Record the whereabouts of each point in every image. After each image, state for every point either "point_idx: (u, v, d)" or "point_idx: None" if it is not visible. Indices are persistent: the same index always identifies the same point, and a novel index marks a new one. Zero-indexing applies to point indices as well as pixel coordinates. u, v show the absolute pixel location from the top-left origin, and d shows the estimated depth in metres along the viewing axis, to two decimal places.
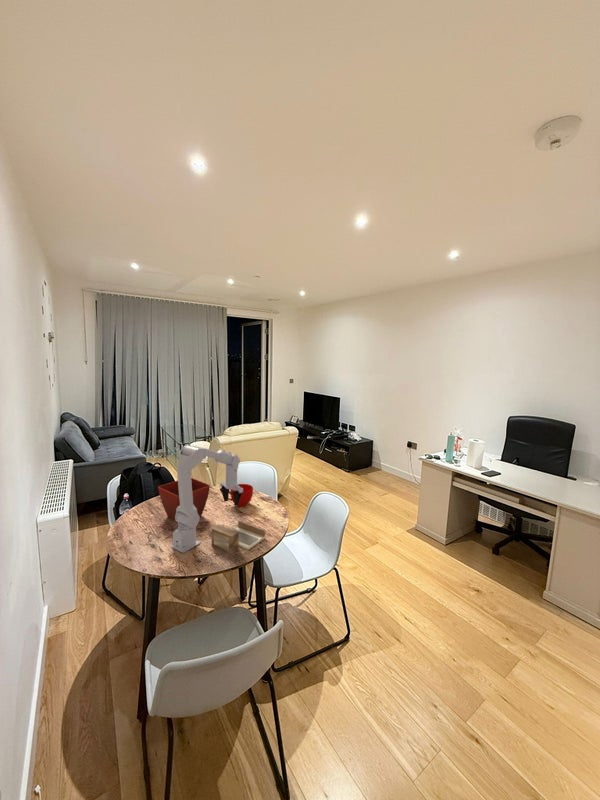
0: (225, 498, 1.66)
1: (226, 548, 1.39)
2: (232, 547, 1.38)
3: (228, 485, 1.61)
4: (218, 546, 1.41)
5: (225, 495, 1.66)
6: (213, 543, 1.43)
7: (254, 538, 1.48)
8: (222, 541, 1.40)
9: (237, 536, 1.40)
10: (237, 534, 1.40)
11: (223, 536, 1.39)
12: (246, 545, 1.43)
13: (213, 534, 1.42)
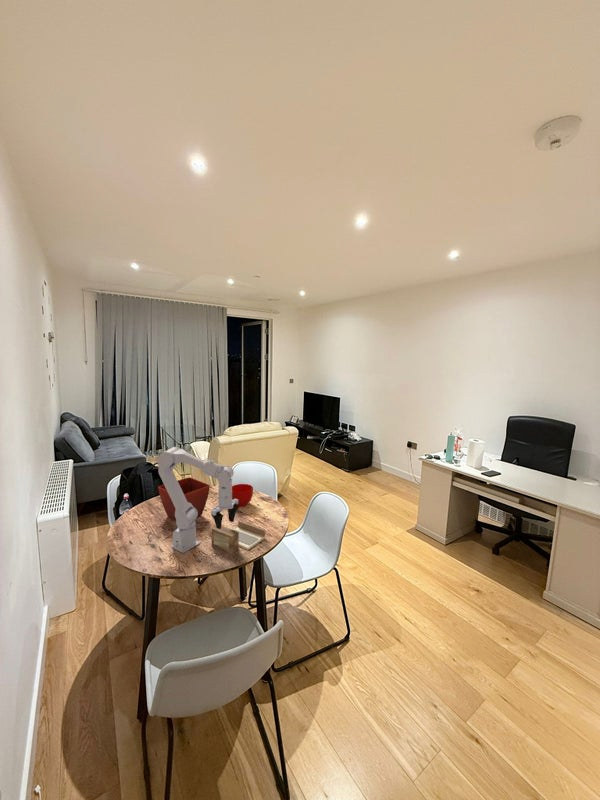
0: (229, 517, 1.45)
1: (226, 548, 1.39)
2: (232, 547, 1.38)
3: None
4: (218, 546, 1.41)
5: (230, 514, 1.45)
6: (213, 543, 1.43)
7: (254, 538, 1.48)
8: (222, 541, 1.40)
9: (237, 536, 1.40)
10: (237, 534, 1.40)
11: (223, 536, 1.39)
12: (246, 545, 1.43)
13: (213, 534, 1.43)
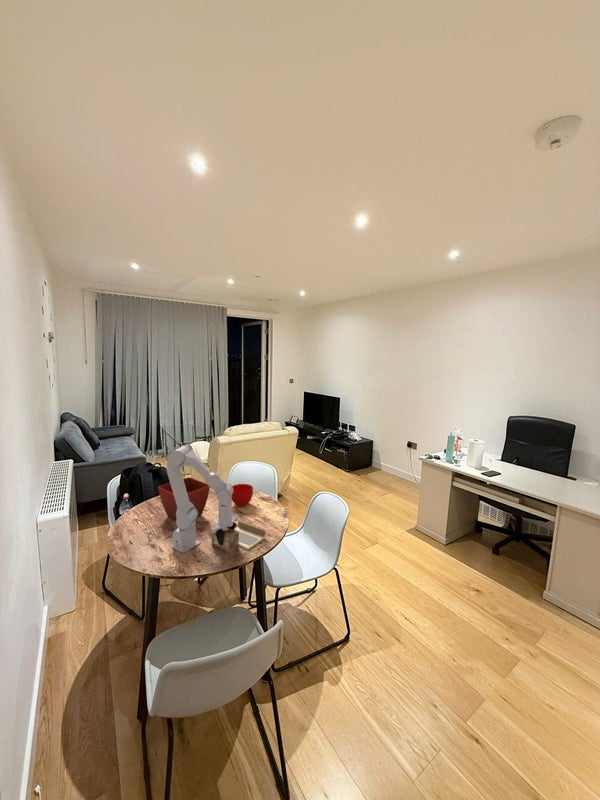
0: None
1: (226, 548, 1.39)
2: (232, 547, 1.38)
3: None
4: (218, 546, 1.42)
5: None
6: (213, 543, 1.43)
7: (254, 538, 1.48)
8: None
9: (237, 536, 1.40)
10: (237, 534, 1.40)
11: None
12: (246, 545, 1.43)
13: (214, 534, 1.43)
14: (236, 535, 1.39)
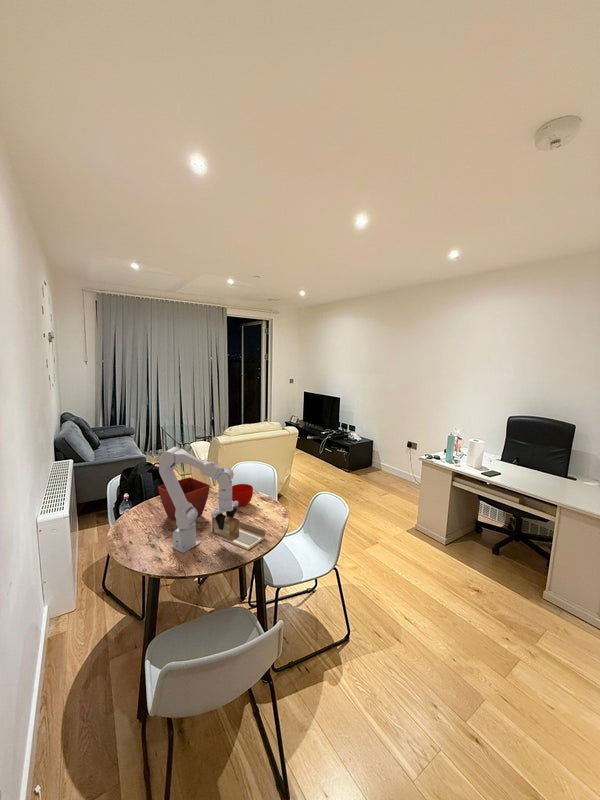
0: None
1: (227, 536, 1.38)
2: (233, 534, 1.37)
3: None
4: (219, 534, 1.41)
5: None
6: (214, 531, 1.42)
7: (254, 538, 1.48)
8: (223, 528, 1.39)
9: (238, 523, 1.40)
10: (238, 521, 1.39)
11: (224, 524, 1.39)
12: (246, 545, 1.43)
13: (214, 522, 1.42)
14: (236, 523, 1.39)
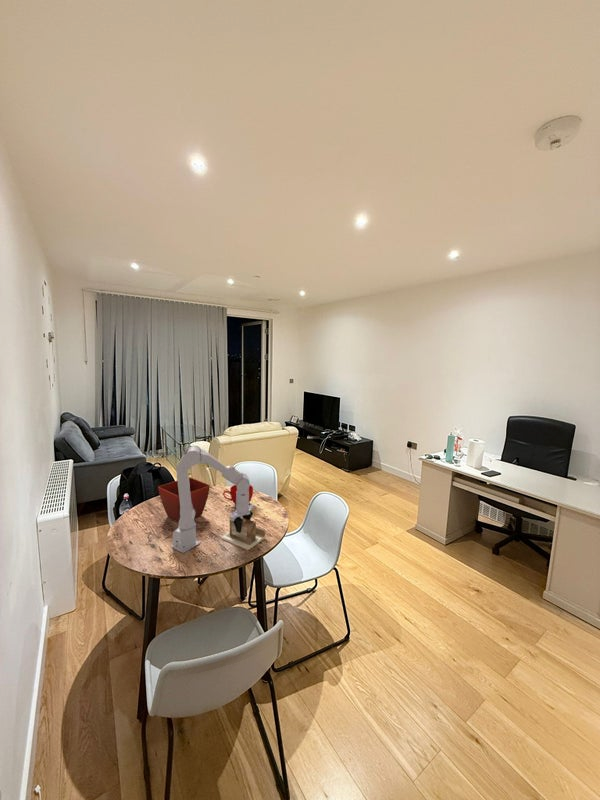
0: None
1: (244, 537, 1.45)
2: (250, 536, 1.44)
3: None
4: (236, 536, 1.48)
5: None
6: (231, 533, 1.50)
7: None
8: None
9: (254, 526, 1.47)
10: (254, 524, 1.46)
11: (241, 526, 1.46)
12: (246, 545, 1.43)
13: (231, 524, 1.49)
14: (253, 525, 1.46)
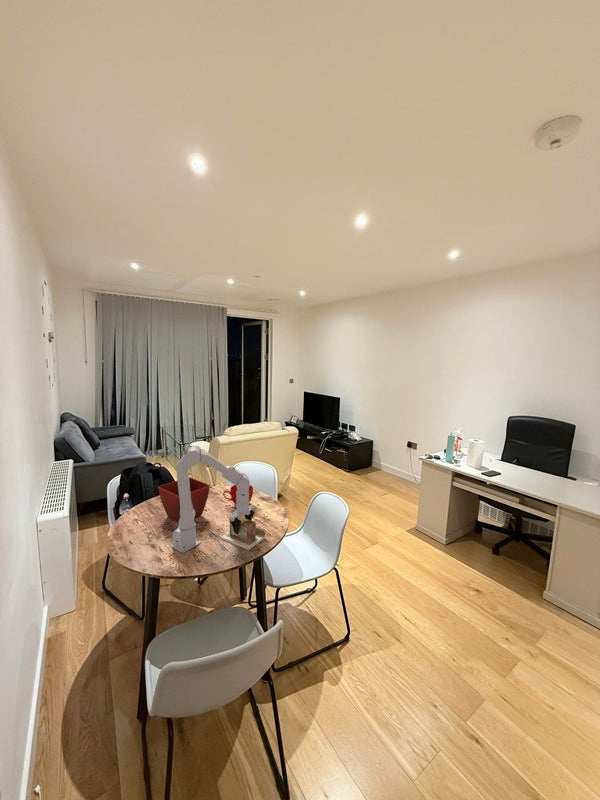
0: None
1: (244, 537, 1.45)
2: (250, 536, 1.44)
3: None
4: (236, 536, 1.48)
5: None
6: (231, 533, 1.50)
7: None
8: (240, 531, 1.46)
9: (254, 526, 1.47)
10: (254, 524, 1.46)
11: (241, 526, 1.46)
12: (246, 545, 1.43)
13: (231, 524, 1.49)
14: (253, 525, 1.46)
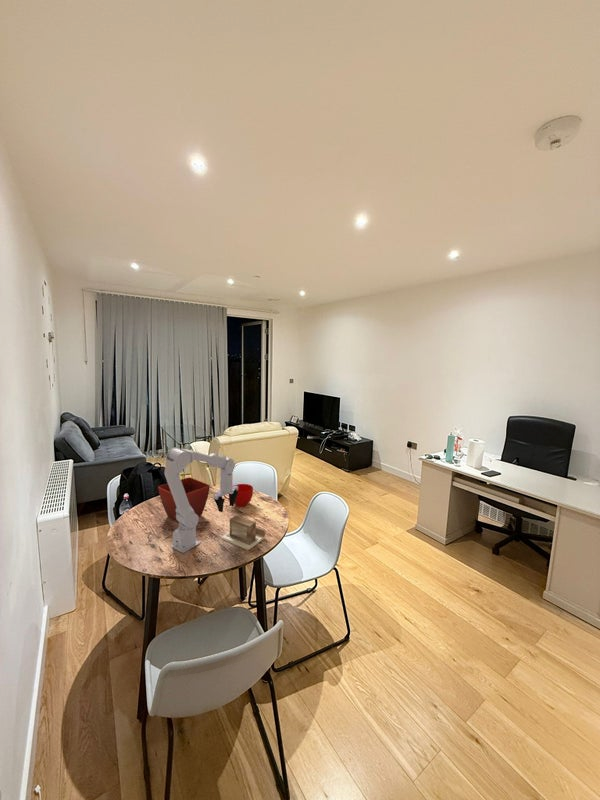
0: (230, 502, 1.61)
1: (244, 537, 1.45)
2: (250, 536, 1.44)
3: None
4: (236, 536, 1.48)
5: (230, 499, 1.60)
6: (231, 533, 1.50)
7: None
8: (240, 531, 1.46)
9: (254, 526, 1.47)
10: (254, 524, 1.46)
11: (241, 526, 1.46)
12: (246, 545, 1.43)
13: (231, 524, 1.49)
14: (253, 525, 1.46)
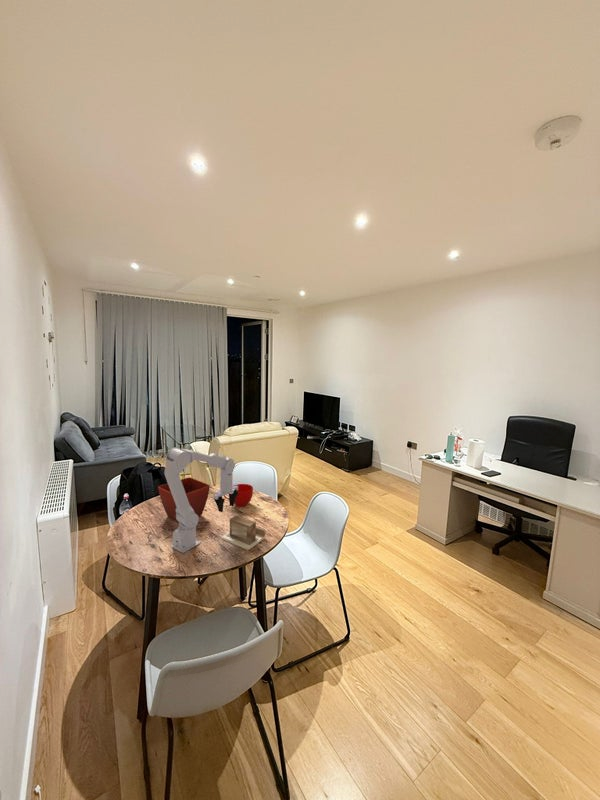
0: (230, 502, 1.61)
1: (244, 537, 1.45)
2: (250, 536, 1.44)
3: None
4: (236, 536, 1.48)
5: (230, 499, 1.60)
6: (231, 533, 1.50)
7: None
8: (240, 531, 1.46)
9: (254, 526, 1.47)
10: (254, 524, 1.46)
11: (241, 526, 1.46)
12: (246, 545, 1.43)
13: (231, 524, 1.49)
14: (253, 525, 1.46)
